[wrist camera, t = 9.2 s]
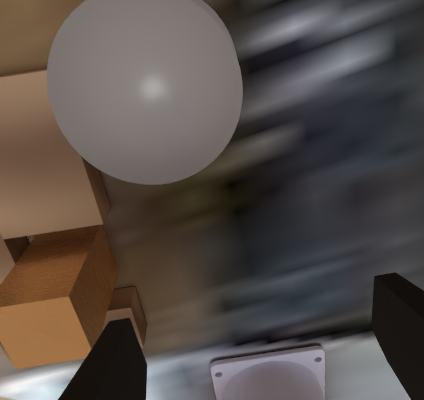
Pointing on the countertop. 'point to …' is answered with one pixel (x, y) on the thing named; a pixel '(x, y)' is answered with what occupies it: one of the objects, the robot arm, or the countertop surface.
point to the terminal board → (47, 183)
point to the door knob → (145, 87)
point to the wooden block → (57, 297)
